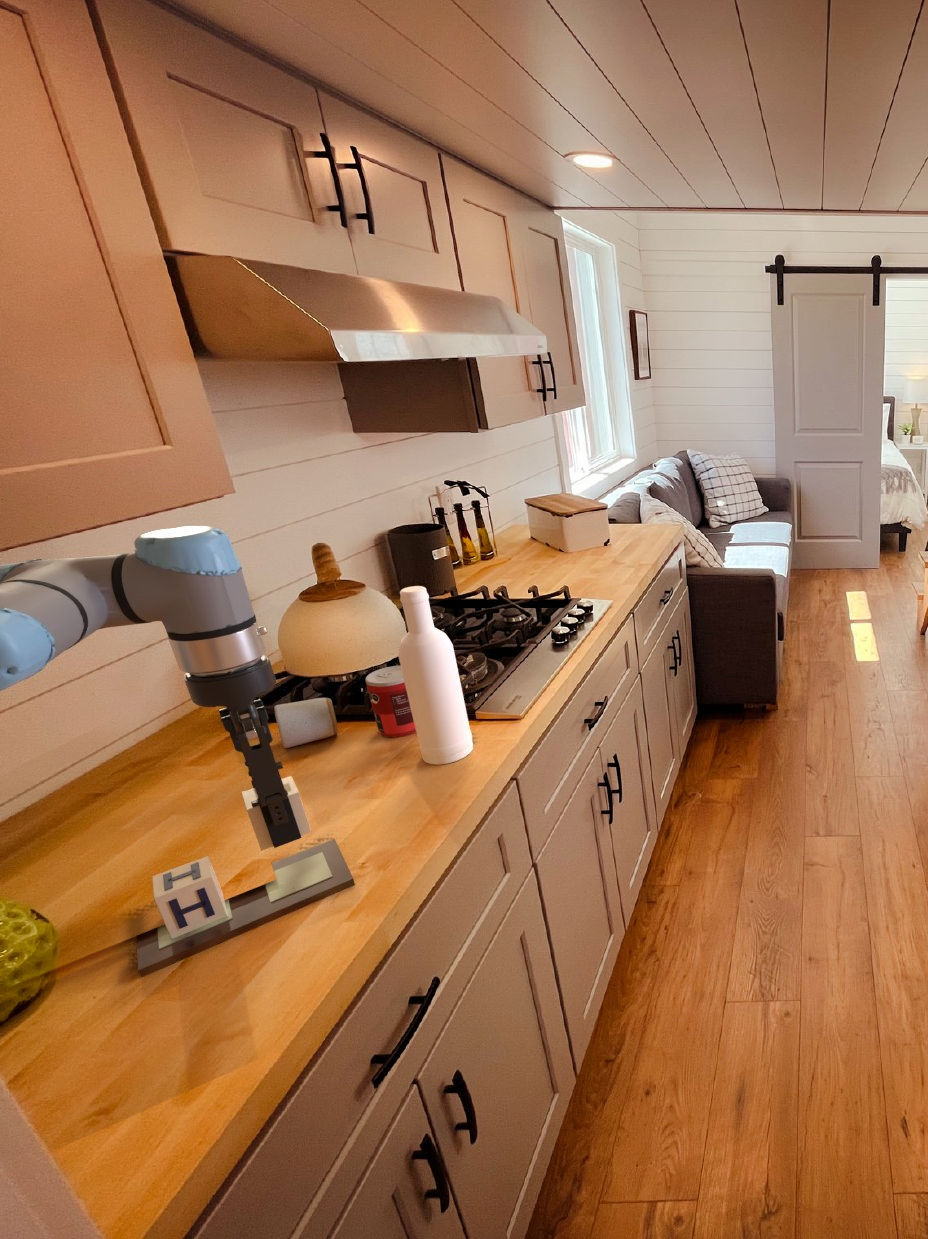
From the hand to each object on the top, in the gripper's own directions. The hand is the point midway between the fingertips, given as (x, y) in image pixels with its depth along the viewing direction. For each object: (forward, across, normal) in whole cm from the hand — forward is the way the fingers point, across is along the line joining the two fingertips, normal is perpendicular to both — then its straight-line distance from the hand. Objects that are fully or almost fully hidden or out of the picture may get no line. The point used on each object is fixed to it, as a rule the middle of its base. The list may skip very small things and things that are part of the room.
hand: (283, 830), depth 85 cm
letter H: (+7, 0, +10) cm, 12 cm away
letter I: (0, 0, 0) cm, 0 cm away
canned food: (+8, +35, -21) cm, 42 cm away
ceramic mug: (+8, +43, -8) cm, 44 cm away
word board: (+8, 0, +5) cm, 10 cm away
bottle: (+8, +20, -24) cm, 32 cm away
